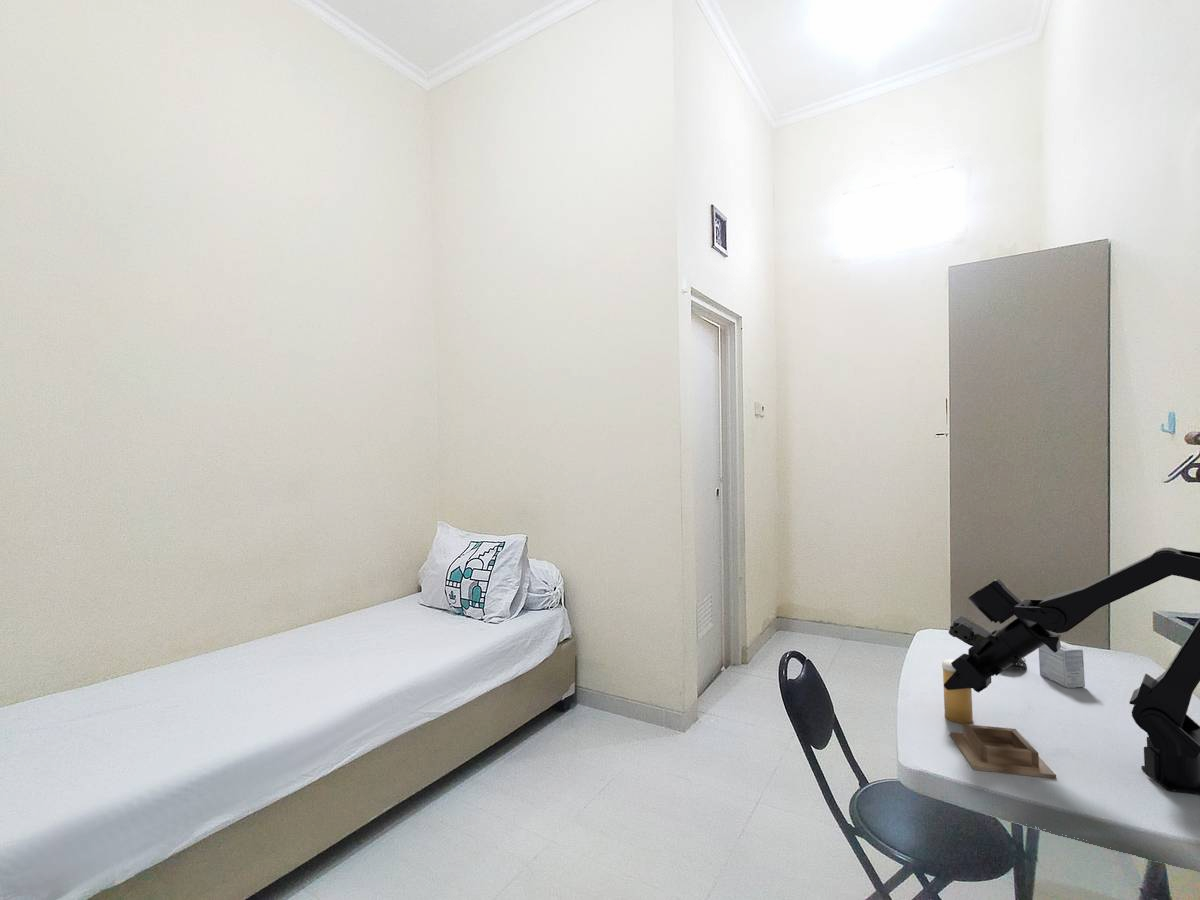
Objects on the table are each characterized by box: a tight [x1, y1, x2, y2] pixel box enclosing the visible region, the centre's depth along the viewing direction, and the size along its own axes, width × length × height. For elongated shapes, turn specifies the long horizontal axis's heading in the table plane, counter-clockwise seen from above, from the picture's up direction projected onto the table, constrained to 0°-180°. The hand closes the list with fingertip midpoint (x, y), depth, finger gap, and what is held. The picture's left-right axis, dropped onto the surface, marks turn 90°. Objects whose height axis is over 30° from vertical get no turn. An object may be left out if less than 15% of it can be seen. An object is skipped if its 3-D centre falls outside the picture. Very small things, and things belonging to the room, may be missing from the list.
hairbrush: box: [1008, 657, 1028, 671], centre depth 145 cm, size 8×4×25 cm
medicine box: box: [1038, 640, 1086, 689], centre depth 129 cm, size 8×4×9 cm, turn 179°
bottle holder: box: [949, 723, 1057, 779], centre depth 99 cm, size 12×12×3 cm
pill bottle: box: [941, 659, 974, 725], centre depth 113 cm, size 5×5×11 cm
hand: (949, 683), depth 114 cm, fingers closed on pill bottle, 5 cm apart
